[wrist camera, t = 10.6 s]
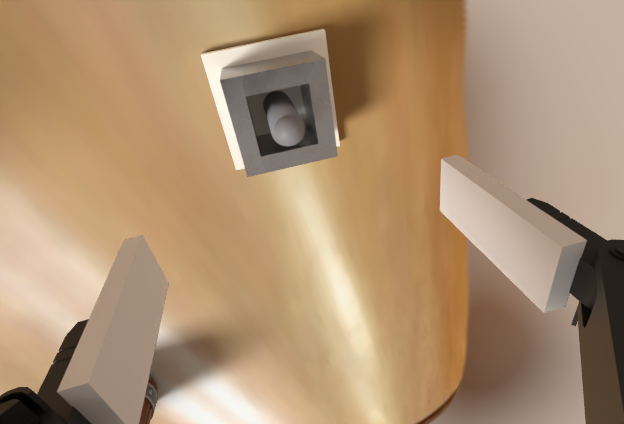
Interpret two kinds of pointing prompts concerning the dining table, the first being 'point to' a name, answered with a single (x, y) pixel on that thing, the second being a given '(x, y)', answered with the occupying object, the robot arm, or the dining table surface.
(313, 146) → the grey square storage bin
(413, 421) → the dining table surface
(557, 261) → the robot arm
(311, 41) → the peg stand
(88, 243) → the dining table surface
